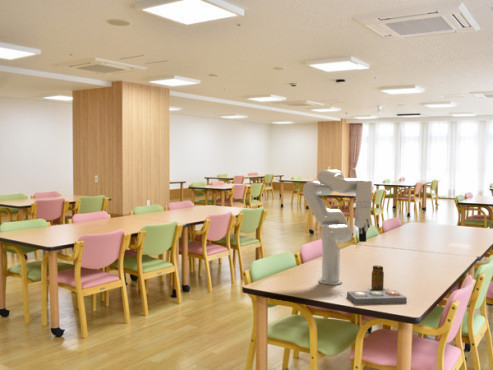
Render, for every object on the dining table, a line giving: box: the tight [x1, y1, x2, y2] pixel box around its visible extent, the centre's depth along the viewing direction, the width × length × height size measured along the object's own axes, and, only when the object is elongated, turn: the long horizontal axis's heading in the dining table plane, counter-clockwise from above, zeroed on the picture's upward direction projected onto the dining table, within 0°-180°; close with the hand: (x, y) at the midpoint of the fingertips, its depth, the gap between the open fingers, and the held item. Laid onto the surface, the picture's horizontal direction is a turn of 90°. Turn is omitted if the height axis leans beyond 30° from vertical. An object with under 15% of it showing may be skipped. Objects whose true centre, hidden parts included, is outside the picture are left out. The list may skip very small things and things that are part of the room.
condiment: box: [368, 265, 390, 291], centre depth 239 cm, size 7×8×12 cm
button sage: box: [371, 290, 382, 296], centre depth 221 cm, size 5×5×2 cm
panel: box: [346, 289, 408, 305], centre depth 221 cm, size 12×25×2 cm, turn 97°
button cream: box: [355, 292, 365, 297], centre depth 220 cm, size 5×5×2 cm
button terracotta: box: [387, 290, 399, 296], centre depth 222 cm, size 5×5×2 cm
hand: (362, 241), depth 227 cm, fingers closed
